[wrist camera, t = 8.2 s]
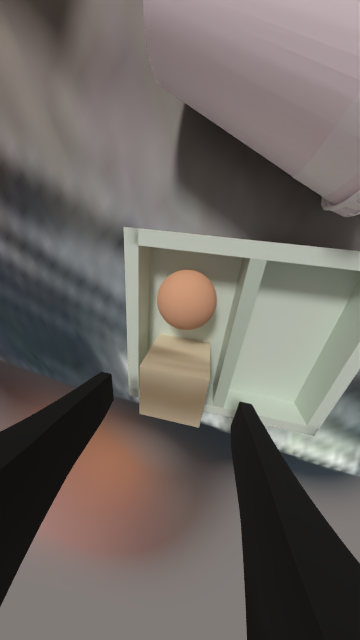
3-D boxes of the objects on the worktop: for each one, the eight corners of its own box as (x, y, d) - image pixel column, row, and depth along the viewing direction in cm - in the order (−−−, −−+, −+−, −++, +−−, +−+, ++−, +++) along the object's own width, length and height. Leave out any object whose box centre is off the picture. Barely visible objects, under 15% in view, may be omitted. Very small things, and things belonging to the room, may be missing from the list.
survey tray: (375, 255, 10) (433, 258, 7) (296, 403, 15) (314, 435, 12) (143, 231, 11) (123, 226, 9) (141, 371, 16) (128, 394, 14)
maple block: (202, 382, 14) (199, 427, 11) (156, 373, 15) (139, 413, 11) (210, 342, 13) (209, 380, 9) (159, 333, 13) (139, 366, 10)
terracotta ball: (220, 270, 11) (225, 279, 7) (211, 320, 12) (211, 346, 9) (167, 263, 11) (149, 269, 8) (163, 312, 12) (147, 335, 9)
